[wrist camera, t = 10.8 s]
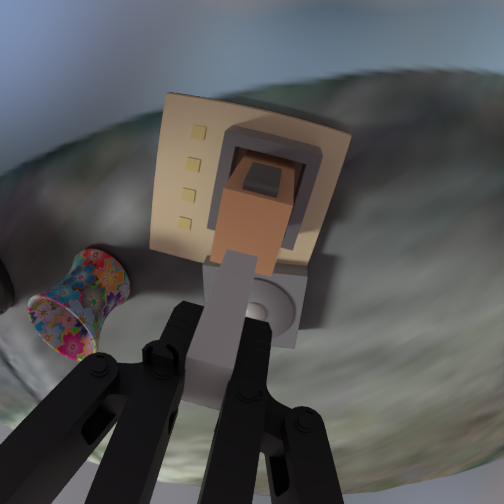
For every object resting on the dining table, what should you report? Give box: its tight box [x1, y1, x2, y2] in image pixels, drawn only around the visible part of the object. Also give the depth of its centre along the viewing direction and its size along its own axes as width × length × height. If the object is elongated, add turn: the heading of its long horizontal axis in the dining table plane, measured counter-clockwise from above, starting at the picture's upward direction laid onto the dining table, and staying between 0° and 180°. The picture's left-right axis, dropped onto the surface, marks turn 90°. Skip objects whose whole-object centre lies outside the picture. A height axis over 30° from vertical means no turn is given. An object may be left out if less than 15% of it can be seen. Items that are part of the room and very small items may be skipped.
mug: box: [27, 249, 130, 361], centre depth 33 cm, size 12×9×11 cm
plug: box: [210, 149, 295, 277], centre depth 23 cm, size 4×6×10 cm
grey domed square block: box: [202, 255, 308, 349], centre depth 34 cm, size 10×10×4 cm
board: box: [150, 92, 352, 266], centre depth 28 cm, size 16×16×4 cm
